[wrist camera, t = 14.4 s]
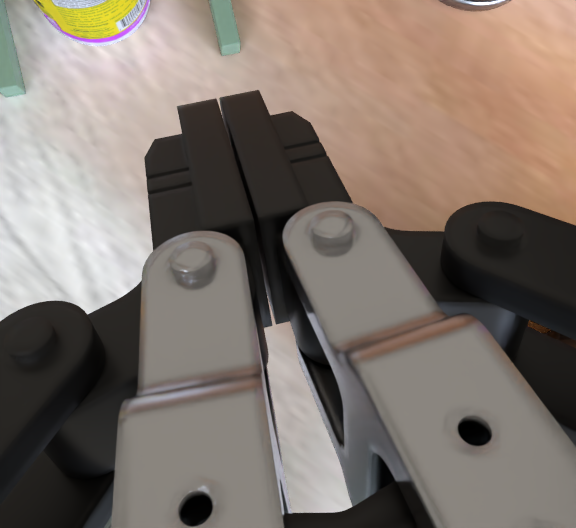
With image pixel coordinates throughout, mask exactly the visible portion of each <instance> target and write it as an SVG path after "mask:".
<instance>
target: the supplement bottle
mask: <svg viewBox="0 0 576 528" xmlns="http://www.w3.org/2000/svg"><path fill="white" fill-rule="evenodd" d="M33 1H34V2H35V4H36V5H37V6H38V8H39V9H40V10H41V12H42V13H43V14H44V16H45V17H46V18H47V19H48V21H49V22H50V23H51V24H52V25H53V26H54V27H55V28H56V29H57V30H58V31H59V32H60V33H62V34H63V35H64V36H66V37H68V38H69V39H71V40H73V41H76V42H78V43H81V44H85V45H90V46H106V45H110V44H114V43H117V42H120V41H122V40H124V39H126V38H127V37H129V36H130V35H131V34H133V33H134V32H135V31H136V30H137V29H138V28H139V26H140V25H141V24H142V22H143V21H144V19H145V17H146V15H147V12H148V9H149V6H150V0H33Z"/></svg>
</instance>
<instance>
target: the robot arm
mask: <svg viewBox="0 0 576 528" xmlns="http://www.w3.org/2000/svg"><path fill="white" fill-rule="evenodd" d="M439 1H440V2H442V3H444V4H446V5H448V6H451V7H454V8H457V9H461V10H466V11H484V10H490V9H494V8H497V7H500V6H502V5H504V4H506V3H508V2H509V1H511V0H439ZM220 106H221V111H222V115H221V111H220V108H219V105H218V102H217V99H211V100H206V101H201V102H196V103H191V104H186V105H181V106H177V109H178V114H179V119H180V124H181V129H182V134H179V135H174V136H169V137H164V138H159V139H155V140H154V142H153V143H152V145H151V147H150V149H149V151H148V152H147V154H146V156H145V168H146V177H147V189H148V194H149V195H148V200H149V210H150V221H151V231H152V242H153V252H152V253H151V254H150V256H149V257H148V259H147V260H146V262H145V265H144V267H143V272H142V281H141V282H140V283H139V284H138V285H137V286H136V287H135V288H134V289H133V290H131V291H130V292H129V293H127V294H126V295H124V296H123V297H121V298H119V299H118V300H116V301H114V302H112V303H110V304H108V305H106V306H104V307H102V308H100V309H98V310H96V311H94V312H92V313H90V314H88V315H87V314H86V313H85V311H84V310H82V309H81V308H80V307H79V306H77V305H74V304H72V303H69V302H65V301H45V302H40V303H36V304H33V305H30V306H27V307H24V308H22V309H20V310H18V311H16V312H14V313H12V314H11V315H9V316H7V317H6V318H5V319H3V320H2V321H1V322H0V528H104V527H105V525H106V524H107V522H108V521H109V519H110V517H111V516H112V522H111V528H576V348H574V347H572V346H570V345H568V344H565V343H563V342H561V341H559V340H556V339H554V338H552V337H550V336H548V335H545V334H543V333H541V332H539V331H536V330H534V329H532V328H530V327H528V326H527V325H528V322H529V320H531V321H533V322H535V323H537V324H540V325H542V326H544V327H546V328H549V329H551V330H553V331H556V332H558V333H560V334H562V335H565V336H567V337H569V338H571V339H574V340H576V226H575V225H572V224H569V223H567V222H564V221H561V220H558V219H555V218H552V217H549V216H546V215H543V214H540V213H538V212H535V211H532V210H529V209H526V208H523V207H520V206H517V205H513V204H509V203H504V202H479V203H474V204H470V205H467V206H465V207H462V208H460V209H459V210H457V211H456V212H454V213H453V214H452V215H451V216H450V218H449V219H448V221H447V223H446V226H445V231H444V232H441V231H400V230H394V229H390V228H386V227H383V225H382V224H381V222H380V221H379V220H378V219H377V217H376V216H375V215H374V214H373V213H371V212H370V211H369V210H367V209H365V208H363V207H361V206H358V205H356V204H353V202H352V200H351V198H350V196H349V195H348V193H347V191H346V189H345V187H344V185H343V183H342V181H341V179H340V178H339V176H338V174H337V172H336V170H335V168H334V166H333V164H332V163H331V161H330V159H329V157H328V156H327V155H326V151H325V149H324V147H323V146H322V144H321V143H320V142H319V138H318V136H317V134H316V132H315V130H314V129H313V127H312V125H311V123H310V122H308V121H307V120H305V119H304V118H302V117H300V116H299V115H297V114H296V113H294V112H293V111H290V112H285V113H280V114H276V115H271V116H270V114H269V112H268V110H267V107H266V105H265V103H264V100H263V98H262V96H261V94H260V92H259V90H255V91H250V92H245V93H240V94H235V95H230V96H225V97H220ZM222 117H223V118H222ZM266 291H267V292H266ZM267 295H268V298H269V302H270V305H271V308H272V312H273V315H274V319H275V322H276V324H280V323H284V322H288V321H290V323H291V326H292V329H293V332H294V335H295V339H296V346H297V354H298V359H299V363H300V365H301V368H302V370H303V373H304V375H305V378H306V380H307V382H308V385H309V387H310V390H311V392H312V395H313V397H314V399H315V402H316V404H317V407H318V409H319V412H320V414H321V416H322V419H323V421H324V424H325V426H326V429H327V431H328V434H329V436H330V438H331V441H332V443H333V446H334V448H335V451H336V453H337V456H338V458H339V461H340V464H341V467H342V470H343V474H344V478H345V482H346V486H347V490H348V493H349V496H350V500H351V503H352V506H353V507H351V508H349V509H347V510H345V511H342V512H335V513H292V512H291V506H290V501H289V495H288V490H287V484H286V479H285V473H284V467H283V461H282V455H281V448H280V442H279V436H278V430H277V424H276V418H275V412H274V406H273V399H272V393H271V387H270V381H269V375H268V369H267V363H268V348H267V343H266V338H265V333H264V328H265V327H269V326H272V321H271V315H270V310H269V304H268V298H267Z"/></svg>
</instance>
